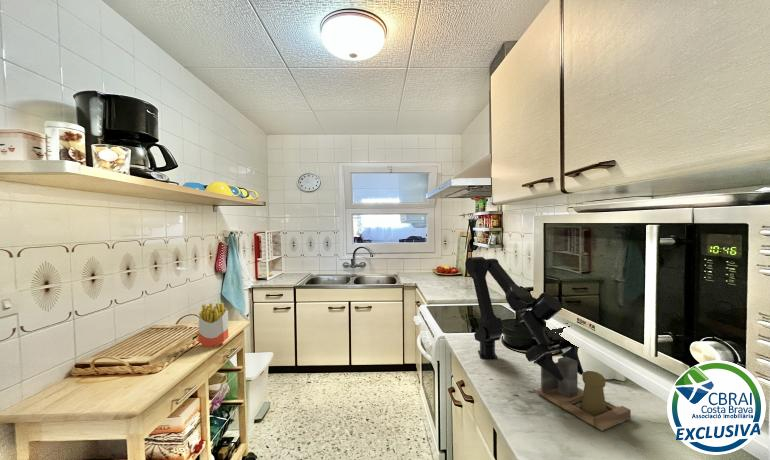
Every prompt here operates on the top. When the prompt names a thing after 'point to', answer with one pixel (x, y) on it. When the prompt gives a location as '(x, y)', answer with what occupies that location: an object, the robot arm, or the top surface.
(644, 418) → the top surface
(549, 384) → the wooden shape sorter tray
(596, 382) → the tan rounded peg
